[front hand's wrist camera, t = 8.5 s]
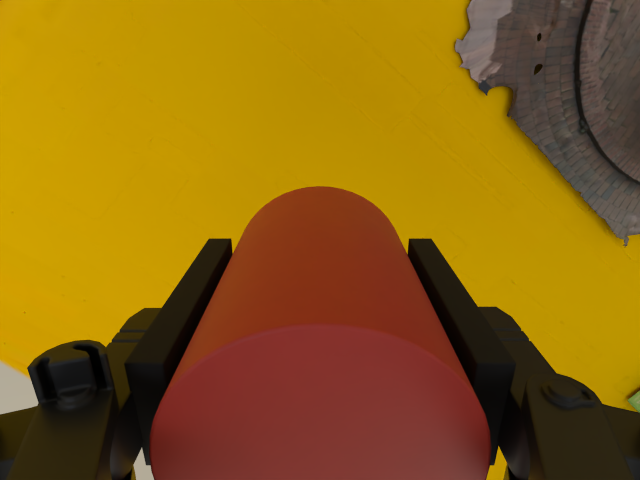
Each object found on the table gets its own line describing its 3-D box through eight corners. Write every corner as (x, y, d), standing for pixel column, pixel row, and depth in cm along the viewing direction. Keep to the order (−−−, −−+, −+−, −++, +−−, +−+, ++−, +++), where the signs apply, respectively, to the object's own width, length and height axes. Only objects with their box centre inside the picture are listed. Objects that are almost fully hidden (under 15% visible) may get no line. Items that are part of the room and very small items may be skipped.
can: (217, 306, 16) (116, 534, 8) (268, 159, 14) (199, 271, 6) (362, 354, 16) (400, 602, 9) (431, 222, 14) (562, 393, 7)
